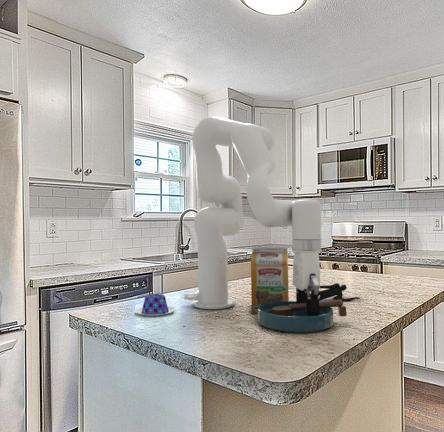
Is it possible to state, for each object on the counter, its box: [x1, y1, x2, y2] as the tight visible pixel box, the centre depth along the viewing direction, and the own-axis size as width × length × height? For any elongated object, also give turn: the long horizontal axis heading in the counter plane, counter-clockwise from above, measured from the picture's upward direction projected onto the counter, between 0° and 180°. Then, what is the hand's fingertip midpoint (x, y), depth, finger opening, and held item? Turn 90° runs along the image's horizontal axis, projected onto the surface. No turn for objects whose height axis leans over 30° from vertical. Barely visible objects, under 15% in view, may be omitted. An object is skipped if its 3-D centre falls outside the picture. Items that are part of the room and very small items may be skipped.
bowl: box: [257, 300, 334, 334], centre depth 109 cm, size 19×19×4 cm
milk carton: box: [250, 246, 290, 314], centre depth 126 cm, size 10×11×19 cm
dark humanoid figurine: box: [319, 282, 364, 302], centre depth 135 cm, size 8×9×25 cm
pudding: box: [134, 293, 176, 317], centre depth 124 cm, size 12×12×5 cm
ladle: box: [272, 299, 348, 318], centre depth 109 cm, size 19×5×4 cm, turn 93°
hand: (307, 310), depth 109 cm, fingers open, 9 cm apart
